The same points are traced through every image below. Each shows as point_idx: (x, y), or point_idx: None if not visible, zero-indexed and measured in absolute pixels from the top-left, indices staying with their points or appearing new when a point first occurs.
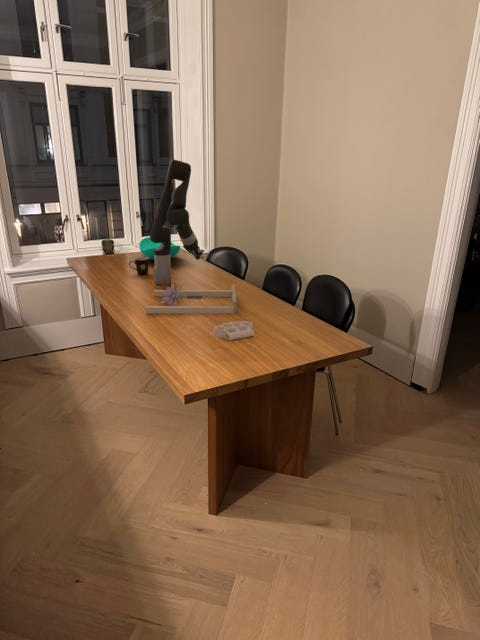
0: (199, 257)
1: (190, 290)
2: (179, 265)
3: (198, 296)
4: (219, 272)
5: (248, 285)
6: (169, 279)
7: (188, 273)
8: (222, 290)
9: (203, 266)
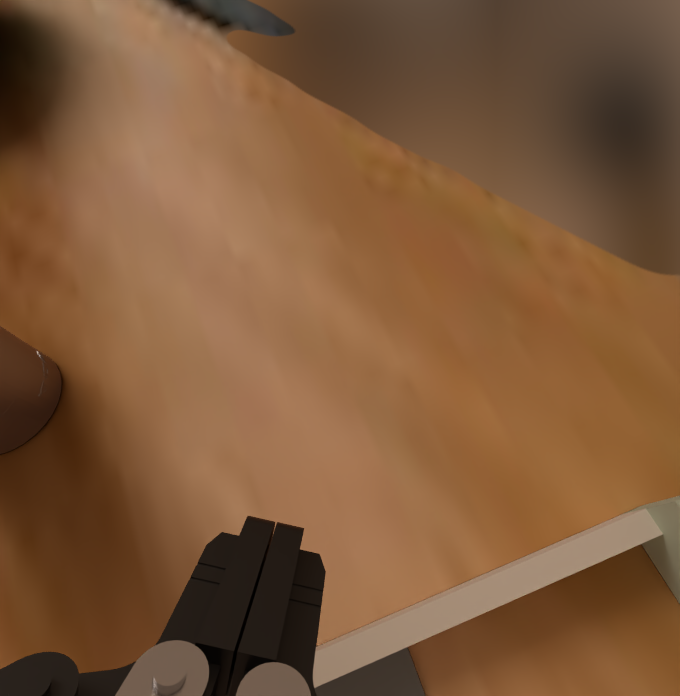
0: (311, 591)
1: None
2: (51, 93)
3: (381, 672)
4: (295, 107)
5: (582, 241)
6: (33, 398)
7: (130, 181)
8: (572, 543)
9: (178, 64)
